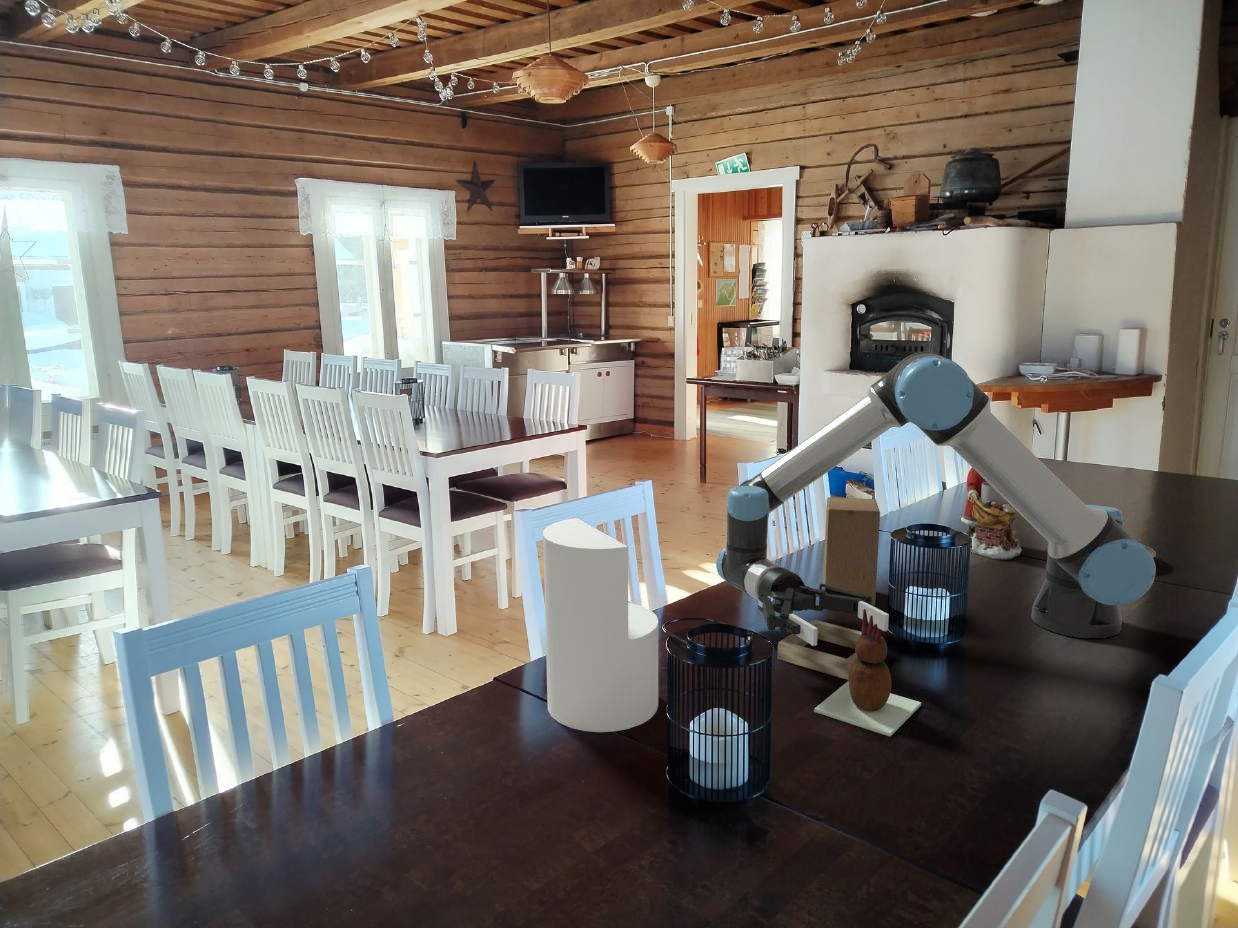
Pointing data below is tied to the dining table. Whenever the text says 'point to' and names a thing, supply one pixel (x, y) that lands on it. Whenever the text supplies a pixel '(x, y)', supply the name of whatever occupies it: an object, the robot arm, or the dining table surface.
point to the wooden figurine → (869, 669)
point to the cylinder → (595, 633)
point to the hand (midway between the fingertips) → (851, 629)
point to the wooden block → (852, 545)
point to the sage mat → (876, 721)
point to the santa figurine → (989, 520)
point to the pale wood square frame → (797, 654)
